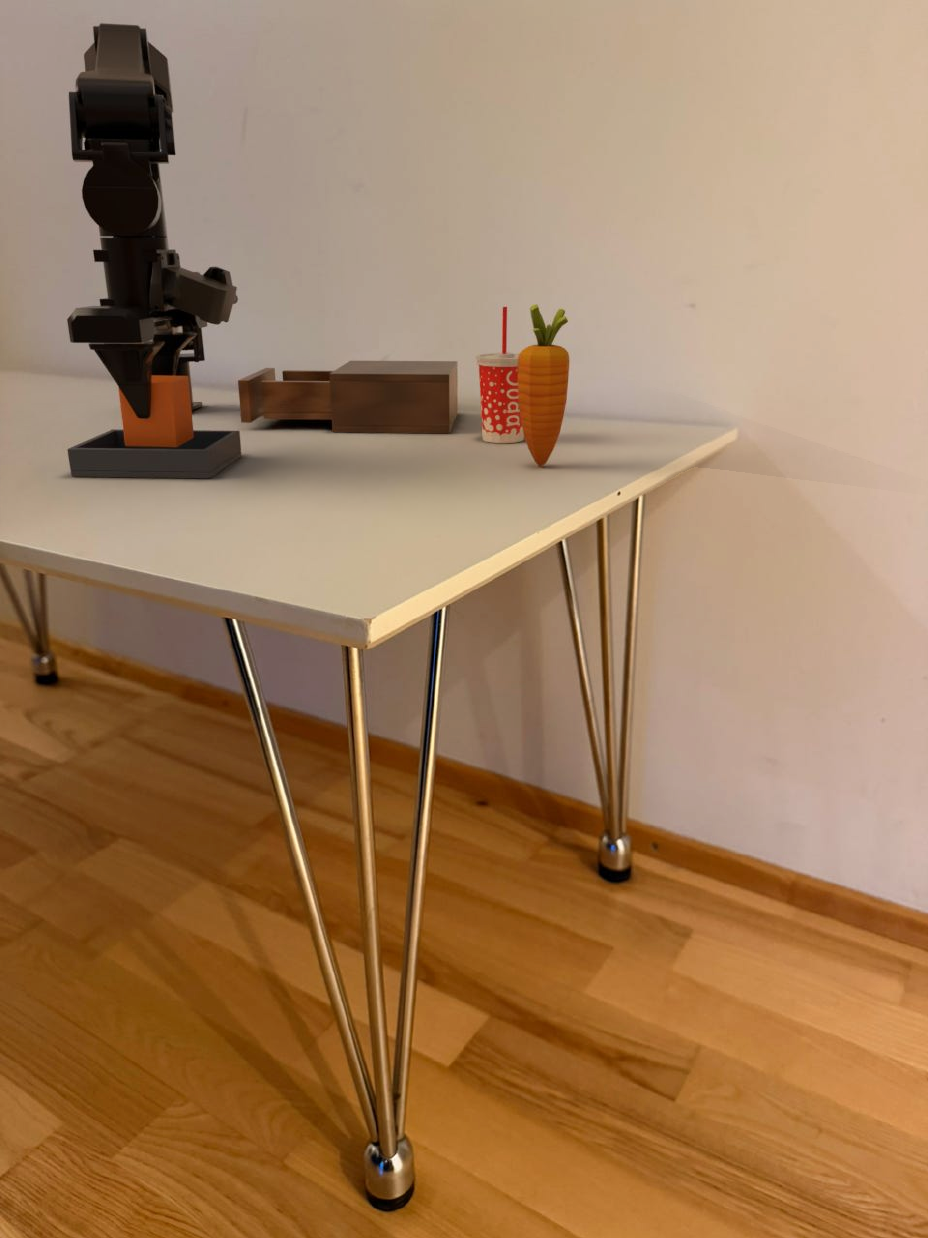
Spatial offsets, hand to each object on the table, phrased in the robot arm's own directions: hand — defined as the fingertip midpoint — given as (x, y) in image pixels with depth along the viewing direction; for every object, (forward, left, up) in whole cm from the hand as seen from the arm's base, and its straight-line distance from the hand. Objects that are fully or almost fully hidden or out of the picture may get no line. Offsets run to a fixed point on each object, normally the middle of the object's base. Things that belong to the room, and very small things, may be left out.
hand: (154, 413), depth 91 cm
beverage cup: (-16, +33, -5) cm, 37 cm away
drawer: (-26, +8, -4) cm, 27 cm away
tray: (0, 0, -5) cm, 5 cm away
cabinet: (-26, +20, -5) cm, 33 cm away
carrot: (-2, +37, -5) cm, 37 cm away
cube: (0, 0, -3) cm, 3 cm away
